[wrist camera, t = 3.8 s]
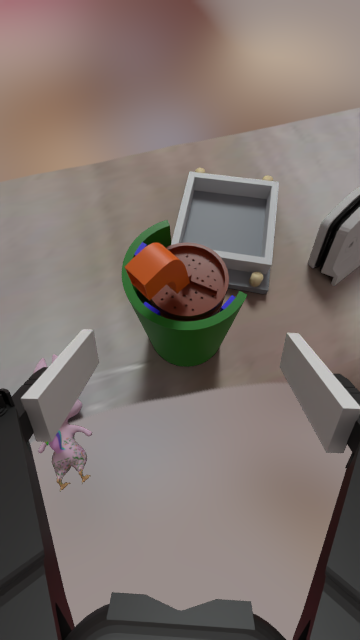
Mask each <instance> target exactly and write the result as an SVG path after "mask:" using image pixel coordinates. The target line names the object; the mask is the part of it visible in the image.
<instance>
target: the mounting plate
mask: <svg viewBox="0 0 360 640" xmlns="http://www.w3.org/2000/svg"><path fill="white" fill-rule="evenodd" d="M278 187H279V182H275V181H273V178H272V177H271V176H264V177H263V179H262V180H258V179H249V178H241V177H232V176H223V175H215V174H206V173H205V170H204V169H203V168H198V169H196V171H195V172H189V176H188V180H187V184H186V187H185V191H184V195H183V199H182V203H181V207H180V211H179V215H178V219H177V223H176V227H175V231H174V235H173V239H172V243H171V245H173V244H177V243H186V242H189V243H197V244H201V245H204V246H206V247H208V248H210V249H212V250H213V251H215V252H216V253H217V254H218V255H219V256H220V257H221V258H222V260H223V261H224V263H225V265H226V267H227V270H228V274H229V284H228V288H230V289H236V290H242V291H249V292H255V293H261V294H266V293H267V292H268V287H269V276H270V267H271V265H272V256H273V245H274V233H275V222H276V210H277V199H278Z"/></svg>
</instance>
